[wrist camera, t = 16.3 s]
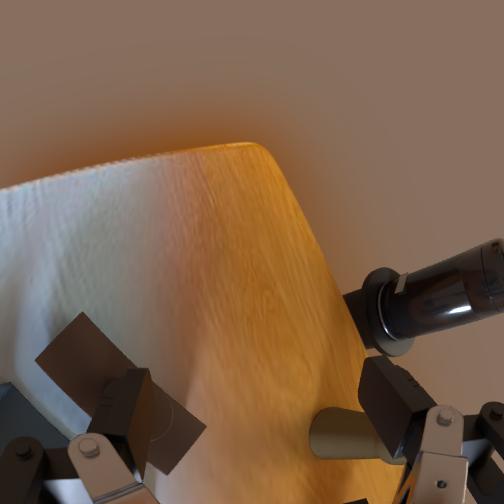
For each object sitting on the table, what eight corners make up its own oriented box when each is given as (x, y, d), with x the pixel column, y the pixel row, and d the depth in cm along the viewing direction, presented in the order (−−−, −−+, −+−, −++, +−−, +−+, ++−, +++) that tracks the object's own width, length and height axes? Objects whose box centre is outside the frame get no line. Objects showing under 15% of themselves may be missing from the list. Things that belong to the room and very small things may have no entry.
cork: (339, 396, 32) (425, 391, 23) (355, 438, 31) (438, 440, 23) (300, 426, 29) (390, 433, 20) (320, 469, 28) (407, 484, 19)
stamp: (81, 318, 22) (86, 283, 14) (191, 420, 24) (262, 443, 15) (39, 361, 19) (13, 356, 11) (155, 464, 21) (209, 514, 12)
